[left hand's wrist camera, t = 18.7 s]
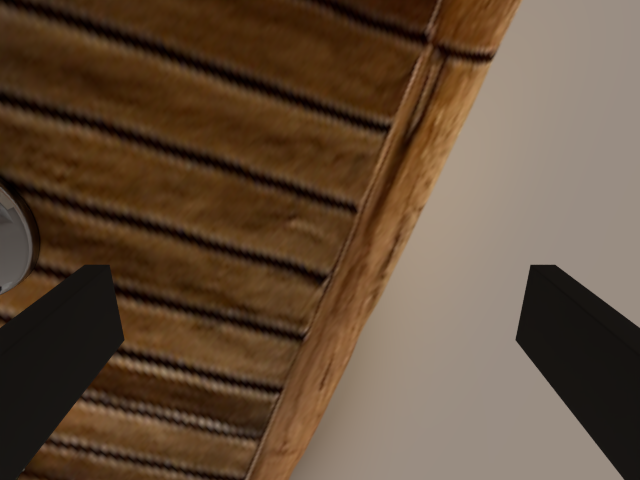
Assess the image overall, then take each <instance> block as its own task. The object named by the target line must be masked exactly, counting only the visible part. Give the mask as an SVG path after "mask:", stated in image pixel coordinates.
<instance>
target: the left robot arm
mask: <svg viewBox="0 0 640 480" xmlns="http://www.w3.org/2000/svg"><path fill="white" fill-rule="evenodd" d="M39 248H40V243H39V233H38V229H37V226H36V223H35V220H34V218H33V216H32V214H31V212H30V210H29V208H28V207H27V205H26V204H25V202H24V201H23V199H22V198H21V197H20V196H19V194H18V193H17V192H16V191H15V190H14V189H13V188H12V187H11V186H10V185H9V184H8V183H6V182H5V181H4V180H3V179H1V178H0V295H1V294H3V293H5V292H7V291H9V290H10V289H12V288H13V287H15V286H16V285H18V284H19V283H21V282H22V281H24V280H25V279H26V278H27V277H28V276H29V274H30V273H31V272H32V270H33V269H34V267H35V265H36V262H37V259H38V255H39ZM123 341H124V335H123V330H122V325H121V320H120V315H119V310H118V305H117V300H116V295H115V290H114V285H113V280H112V275H111V270H110V265H84V266H83V267H81V268H80V269H79V270H77V271H76V272H75V273H73V274H72V275H71V276H69V277H68V278H67V279H65V280H64V281H63V282H61V283H60V284H59V285H57V286H56V287H54V288H53V289H52V290H50V291H49V292H48V293H46V294H45V295H44V296H42V297H41V298H40V299H38V300H37V301H36V302H34V303H33V304H32V305H30V306H29V307H28V308H26V309H25V310H24V311H22V312H21V313H20V314H18V315H17V316H16V317H14V318H13V319H12V320H10V321H9V322H8V323H6V324H5V325H4V326H2V327H1V328H0V480H16V479H17V477H18V476H19V475H20V473H21V472H22V471H23V470H24V468H25V467H26V466H27V464H28V463H29V462H30V461H31V459H32V458H33V457H34V455H35V454H36V453H37V452H38V450H39V449H40V448H41V446H42V445H43V444H44V443H45V441H46V440H47V439H48V437H49V436H50V435H51V434H52V432H53V431H54V430H55V428H56V427H57V426H58V425H59V423H60V422H61V421H62V419H63V418H64V417H65V416H66V414H67V413H68V412H69V411H70V409H71V408H72V407H73V405H74V404H75V403H76V402H77V400H78V399H79V398H80V396H81V395H82V394H83V393H84V391H85V390H86V389H87V387H88V386H89V385H90V384H91V382H92V381H93V380H94V378H95V377H96V376H97V375H98V373H99V372H100V371H101V369H102V368H103V367H104V366H105V364H106V363H107V362H108V360H109V359H110V358H111V357H112V355H113V354H114V353H115V352H116V350H117V349H118V348H119V346H120V345H121V344H122V343H123ZM516 341H517V343H518V344H519V345H520V346H521V348H522V349H523V350H524V351H525V353H526V354H527V355H528V357H529V358H530V359H531V360H532V362H533V363H534V364H535V366H536V367H537V368H538V369H539V371H540V372H541V373H542V375H543V376H544V377H545V378H546V380H547V381H548V382H549V384H550V385H551V386H552V387H553V389H554V390H555V391H556V393H557V394H558V395H559V396H560V398H561V399H562V400H563V401H564V403H565V404H566V405H567V407H568V408H569V409H570V410H571V412H572V413H573V414H574V416H575V417H576V418H577V419H578V421H579V422H580V423H581V425H582V426H583V427H584V428H585V430H586V431H587V432H588V434H589V435H590V436H591V437H592V439H593V440H594V441H595V443H596V444H597V445H598V446H599V448H600V449H601V450H602V452H603V453H604V454H605V455H606V457H607V458H608V459H609V460H610V462H611V463H612V464H613V466H614V467H615V468H616V470H617V471H618V472H619V473H620V475H621V476H622V477H623V479H624V480H640V328H639V327H638V326H636V325H635V324H634V323H632V322H631V321H630V320H628V319H627V318H626V317H624V316H623V315H622V314H620V313H619V312H618V311H616V310H615V309H614V308H612V307H611V306H610V305H608V304H607V303H606V302H604V301H603V300H602V299H600V298H599V297H598V296H596V295H595V294H594V293H592V292H591V291H589V290H588V289H587V288H585V287H584V286H583V285H581V284H580V283H579V282H577V281H576V280H575V279H573V278H572V277H571V276H569V275H568V274H567V273H565V272H564V271H563V270H561V269H560V268H559V267H557V266H556V265H530V270H529V275H528V280H527V285H526V290H525V295H524V300H523V305H522V310H521V315H520V320H519V325H518V330H517V335H516Z"/></svg>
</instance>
